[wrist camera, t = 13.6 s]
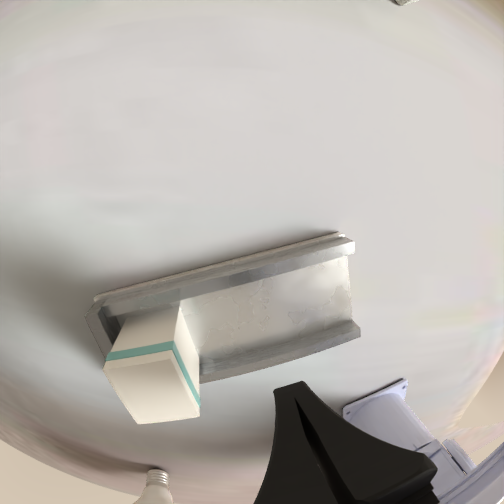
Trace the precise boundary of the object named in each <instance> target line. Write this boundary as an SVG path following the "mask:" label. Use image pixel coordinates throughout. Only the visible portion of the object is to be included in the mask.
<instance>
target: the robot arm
mask: <svg viewBox="0 0 504 504" xmlns="http://www.w3.org/2000/svg"><path fill="white" fill-rule="evenodd" d="M407 384H408V381H407V380H406V379H403V380H401V381H399V382H397V383H395V384H393V385H391V386H389V387H387V388H385V389H383V390H381V391H379V392H377V393H374V394H372V395H370V396H368V397H365V398H363V399H361V400H358V401H356V402H354V403H351V404H349V405H346V406H345V407H344V408H343V418H342V417H341V416H339V415H338V414H337V413H336V412H334V411H333V410H332V409H331V408H330V407H328V406H327V405H326V404H325V403H324V402H323V401H322V400H321V399H320V398H319V397H318V396H317V395H316V394H315V393H314V392H313V391H312V390H311V389H310V388H309V387H308V385H307V384H306V383H305V382H304V381H300V382H297V383H294V384H290V385H287V386H284V387H280V388H277V389H275V390H274V391H273V393H274V397H275V406H276V418H275V432H274V440H273V446H272V452H271V456H270V460H269V464H268V468H267V471H266V474H265V477H264V480H263V483H262V485H261V488H260V490H259V493H258V495H257V498H256V500H255V502H254V504H499V503H500V502H501V501H502V500H503V499H504V442H503V443H502V444H501V445H500V446H499V447H498V448H497V449H496V450H495V451H494V452H493V453H491V454H490V455H489V456H488V457H487V458H486V459H485V460H484V461H482V462H481V463H480V464H479V465H478V466H476V465H475V464H474V462H473V461H472V460H471V459H470V457H469V456H468V455H467V454H466V452H465V451H464V450H463V449H462V448H461V447H460V445H459V444H458V443H457V442H456V441H455V440H454V439H451V440H448V439H446V440H445V441H444V442H443V444H444V446H445V447H446V448H447V451H448V452H449V453H450V454H451V456H452V457H451V456H450V455H449V453H448V452H447V451H446V450H445V448H444V447H443V446H442V445H441V444H440V442H439V441H438V440H437V439H435V438H434V436H433V435H432V434H431V433H430V431H429V430H428V429H427V428H426V427H425V425H424V424H423V423H422V422H421V420H420V419H419V418H418V417H417V416H416V414H415V413H414V412H413V411H412V409H411V408H410V407H409V406H408V405H407V403H406V402H405V401H404V400H405V395H406V390H407ZM319 467H320V468H319ZM320 469H321V470H320ZM463 471H464V472H465V473H466V474H467V475H465V474H464V472H463Z"/></svg>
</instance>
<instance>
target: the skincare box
mask: <svg viewBox="0 0 504 504" xmlns="http://www.w3.org/2000/svg"><path fill="white" fill-rule="evenodd" d="M416 1H419V0H396V2H397V3H398V4H399V5H401V6H403V5H406V4H409V3H413V2H416Z"/></svg>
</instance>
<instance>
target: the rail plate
mask: <svg viewBox="0 0 504 504" xmlns="http://www.w3.org/2000/svg"><path fill="white" fill-rule="evenodd" d="M353 253H355V246H354V241H352V240H350V239H348V238H346V237H344V234H343V233H341V232H337V233H333V234H329V235H325V236H321V237H317V238H314V239H310V240H306V241H302V242H298V243H294V244H291V245H287V246H283V247H279V248H275V249H271V250H267V251H264V252H260V253H256V254H252V255H248V256H244V257H241V258H237V259H233V260H229V261H225V262H221V263H217V264H213V265H210V266H206V267H202V268H198V269H194V270H190V271H186V272H182V273H179V274H175V275H171V276H167V277H163V278H159V279H155V280H151V281H147V282H144V283H140V284H136V285H132V286H128V287H124V288H120V289H116V290H112V291H108V292H105V293H101V294H97V295H96V296H95V297H94V302H95V304H94V305H93V306H92V307H91V309H90V310H89V311H88V313H87V314H86V315H85V318H86V321H87V323H88V325H89V327H90V329H91V331H92V333H93V335H94V337H95V339H96V341H97V343H98V345H99V347H100V349H101V351H102V353H103V355H104V356H105V358H106V357H107V355H108V353H109V352H111V350H112V348H113V345H114V343H115V341H116V339H117V337H118V335H119V333H120V331H121V329H122V327H123V325H124V323H125V321H126V319H127V318H129V317H133V316H138V315H142V314H147V313H151V312H156V311H160V310H164V309H169V308H173V307H177V306H180V309H181V311H182V314H183V317H184V320H185V322H186V325H187V328H188V331H189V333H190V336H191V338H192V341H193V344H194V346H195V349H196V351H197V354H198V356H199V384H202V383H207V382H211V381H216V380H220V379H225V378H229V377H233V376H238V375H242V374H246V373H250V372H253V371H257V370H261V369H265V368H268V367H272V366H275V365H279V364H282V363H285V362H289V361H292V360H295V359H299V358H302V357H305V356H308V355H311V354H314V353H317V352H320V351H323V350H326V349H329V348H331V347H334V346H337V345H340V344H342V343H345V342H348V341H350V340H353V339H356V338H358V337H361V335H360V327H359V326H358V325H357V324H356V323H355V322H354V321H353V320H352V309H351V295H350V283H349V272H348V262H347V255H350V254H353Z"/></svg>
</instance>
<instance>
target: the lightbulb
mask: <svg viewBox="0 0 504 504" xmlns="http://www.w3.org/2000/svg"><path fill="white" fill-rule="evenodd" d="M169 478H170V476H169V474H168V473H167V472H165V471H163V470H160V469H152V470H149V471H148V472H147V480H146V481H147V482H146V487H145V488H144V490H143V492H142V495H141V497H140V498H139V499H138V500H137V501H136V502H134V503H133V504H174V502H173V499H172V495H171V493H170V491H169Z"/></svg>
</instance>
